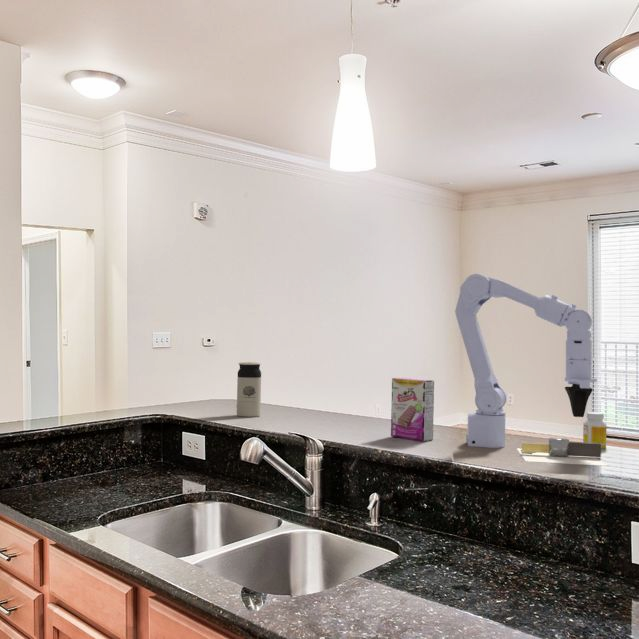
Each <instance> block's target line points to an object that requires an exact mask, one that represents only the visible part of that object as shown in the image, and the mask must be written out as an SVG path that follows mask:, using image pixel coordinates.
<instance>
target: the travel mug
mask: <svg viewBox="0 0 639 639" xmlns="http://www.w3.org/2000/svg"><path fill="white" fill-rule="evenodd" d="M238 365H239V369H238V371H237V381H236V383H237V387H236V388H237V390H236V416H238V417H241V418H257V417H260V415H261V406H262V405H261V403H262V402H261V398H262V372H261V369H260V366H261V362H253V361H252V362H249V361H248V362H247V361H246V362H245V361H244V362H243V361H240V362H238Z"/></svg>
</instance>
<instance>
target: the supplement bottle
mask: <svg viewBox="0 0 639 639" xmlns="http://www.w3.org/2000/svg"><path fill="white" fill-rule="evenodd" d="M604 419H605V414H604V413H603V412H596V411H593V412H592V411H588V412H586V420H584V422H583V424H582V425H583V427H582V429H583V430H582V432H583V433H582V434H583V435H582V436H583V437H582V442H586V443H600V444H601V450H605V449H607V423H606V422H605V421H603V420H604Z"/></svg>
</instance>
